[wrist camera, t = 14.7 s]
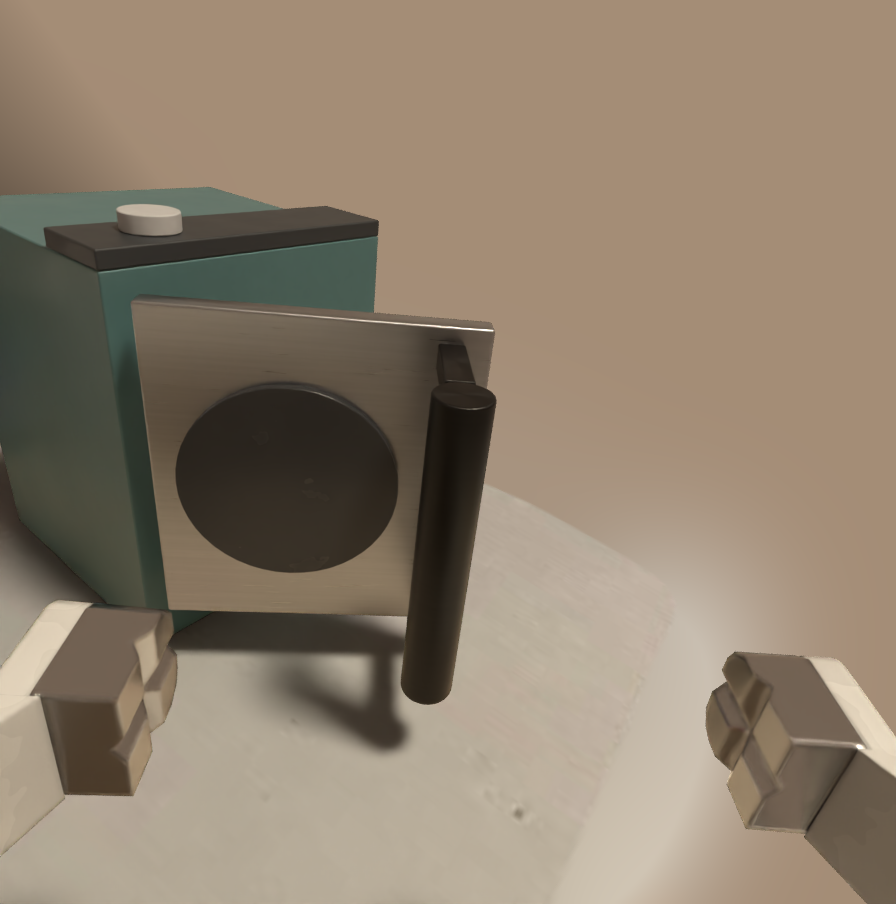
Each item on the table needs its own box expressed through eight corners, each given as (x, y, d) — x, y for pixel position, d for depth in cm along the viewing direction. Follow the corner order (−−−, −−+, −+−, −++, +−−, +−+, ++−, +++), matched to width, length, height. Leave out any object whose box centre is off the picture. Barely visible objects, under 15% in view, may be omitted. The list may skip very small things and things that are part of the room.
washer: (362, 528, 33) (380, 203, 25) (152, 647, 25) (91, 226, 18) (226, 445, 38) (208, 159, 31) (19, 520, 30) (-70, 161, 23)
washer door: (464, 717, 21) (522, 392, 15) (125, 713, 19) (59, 360, 14) (451, 603, 25) (492, 321, 20) (174, 595, 24) (138, 292, 19)
